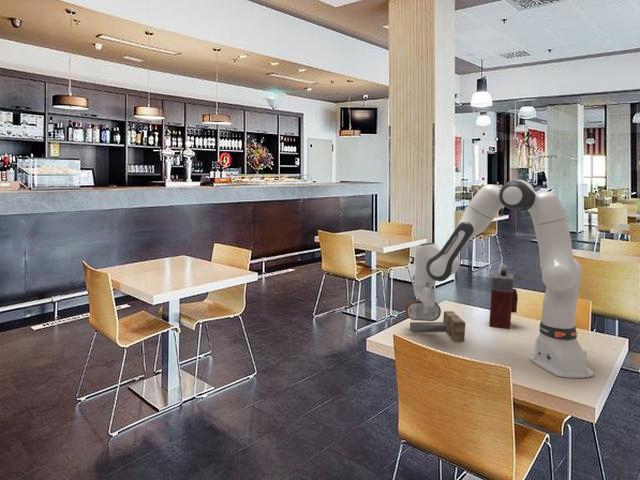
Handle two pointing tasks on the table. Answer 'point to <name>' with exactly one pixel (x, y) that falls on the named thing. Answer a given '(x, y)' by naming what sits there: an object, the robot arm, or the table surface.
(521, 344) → the table surface
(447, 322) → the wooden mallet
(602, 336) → the table surface
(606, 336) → the table surface
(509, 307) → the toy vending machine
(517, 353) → the table surface
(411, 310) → the tin
